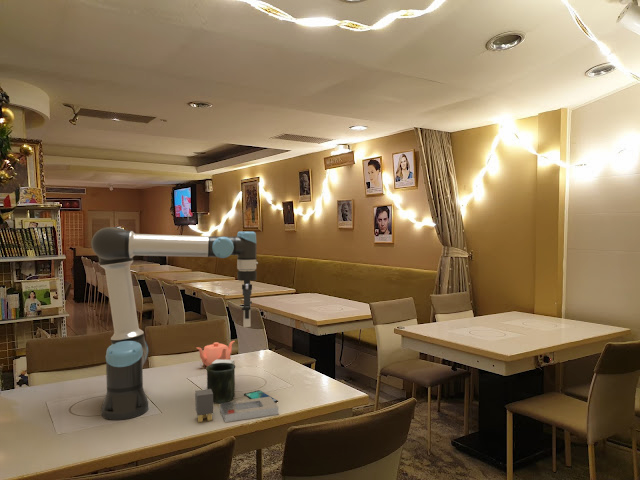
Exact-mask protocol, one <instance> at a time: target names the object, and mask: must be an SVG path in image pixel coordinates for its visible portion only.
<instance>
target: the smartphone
mask: <svg viewBox="0 0 640 480" xmlns="http://www.w3.org/2000/svg"><path fill="white" fill-rule="evenodd" d="M243 396H245V397H246V398H248V400H249V399H256V398H263V397H271V398H272V399H273V401H274V402H275V403H276V404H277V402H278V403H279V400H278V399H276V398H274V397H272V396H271V395H269V394H268V393H265V392H264V391H262V390H254V391H251V392H246V393H244V394H243Z"/></svg>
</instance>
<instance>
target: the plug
mask: <svg viewBox="0 0 640 480" xmlns="http://www.w3.org/2000/svg"><path fill="white" fill-rule="evenodd" d="M194 393H195V395H194V396H195V413H196V416H197V422H198V423H201V422H203V419H206V420H207V421H212V420H213V414H214V402H213V392H212V390H211V389H207V388H205V389H199V390H195V392H194Z"/></svg>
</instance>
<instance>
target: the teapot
mask: <svg viewBox="0 0 640 480" xmlns="http://www.w3.org/2000/svg"><path fill="white" fill-rule="evenodd" d="M235 342H236V341H235V340H232V341H230V342H229V344H228V345H226V344H224V343H220V342H213V343H212V344H207V345H205V346H204V347H203V348H202V347H197V346H196V349H197V350H198V351H199V358H200V359H201V361H202V365H204V366H206V367H207V366H209V365H211V363H212V362H214V361H215V360H232V359H231V355H232V352H233V344H234V343H235Z"/></svg>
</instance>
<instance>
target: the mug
mask: <svg viewBox="0 0 640 480" xmlns="http://www.w3.org/2000/svg"><path fill="white" fill-rule="evenodd" d="M234 369H236V365H235V363H234V364H231V363H215V364H211V365H209V366H206V367H205V370H206V379H207V380H206V383H207V385H206V386H207V387H206V389H211V390H212V392H213V404H214V403H216V404H220V403H227V402H232V400H234V399H235V396H236V389H235V385H236V377H235V376H236V374H234Z"/></svg>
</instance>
